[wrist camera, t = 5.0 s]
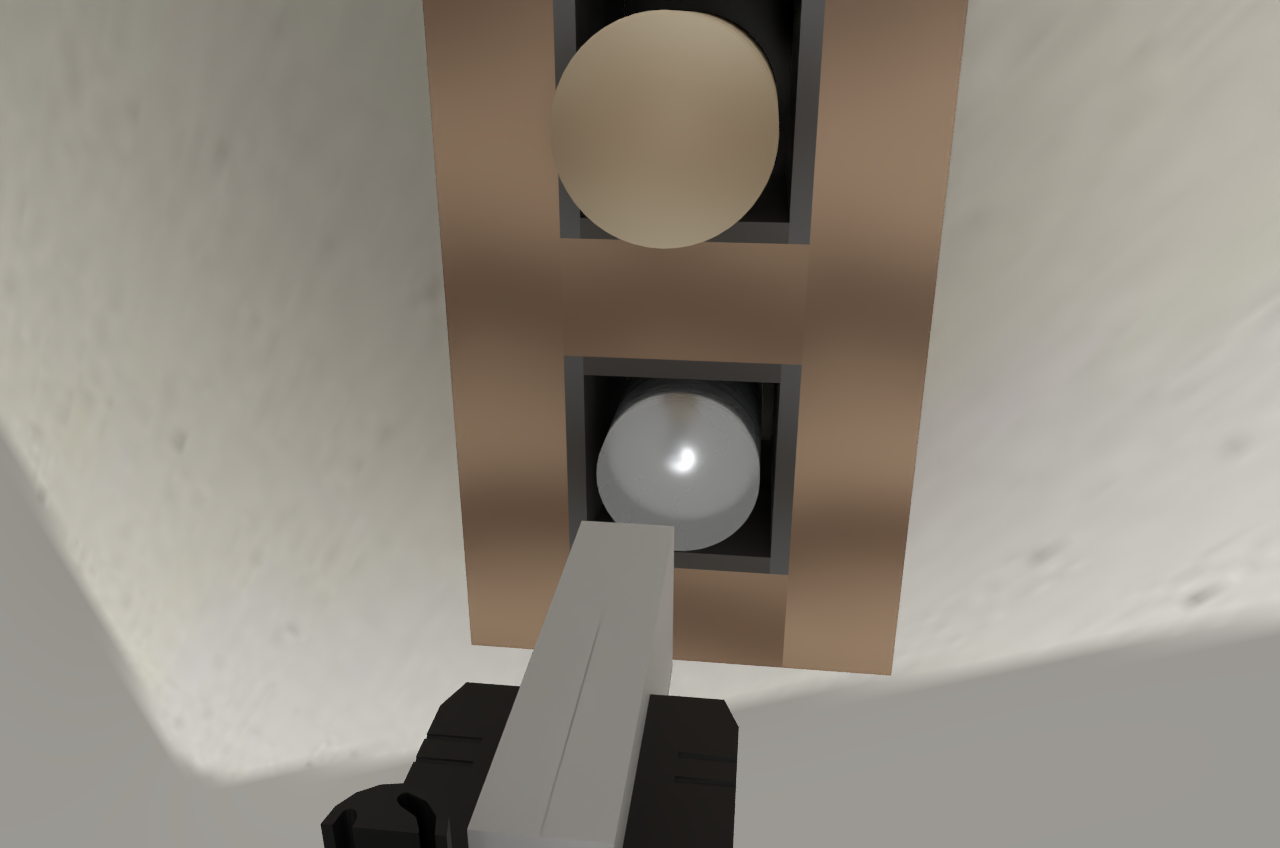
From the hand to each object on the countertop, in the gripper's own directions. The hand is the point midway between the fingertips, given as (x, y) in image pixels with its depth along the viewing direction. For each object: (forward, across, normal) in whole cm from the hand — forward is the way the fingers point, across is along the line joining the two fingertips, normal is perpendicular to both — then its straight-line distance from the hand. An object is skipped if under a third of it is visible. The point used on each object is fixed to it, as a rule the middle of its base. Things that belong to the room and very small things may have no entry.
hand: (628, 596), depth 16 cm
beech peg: (+13, 0, +7) cm, 15 cm away
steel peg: (+17, 0, -2) cm, 17 cm away
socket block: (+18, 0, +2) cm, 18 cm away
